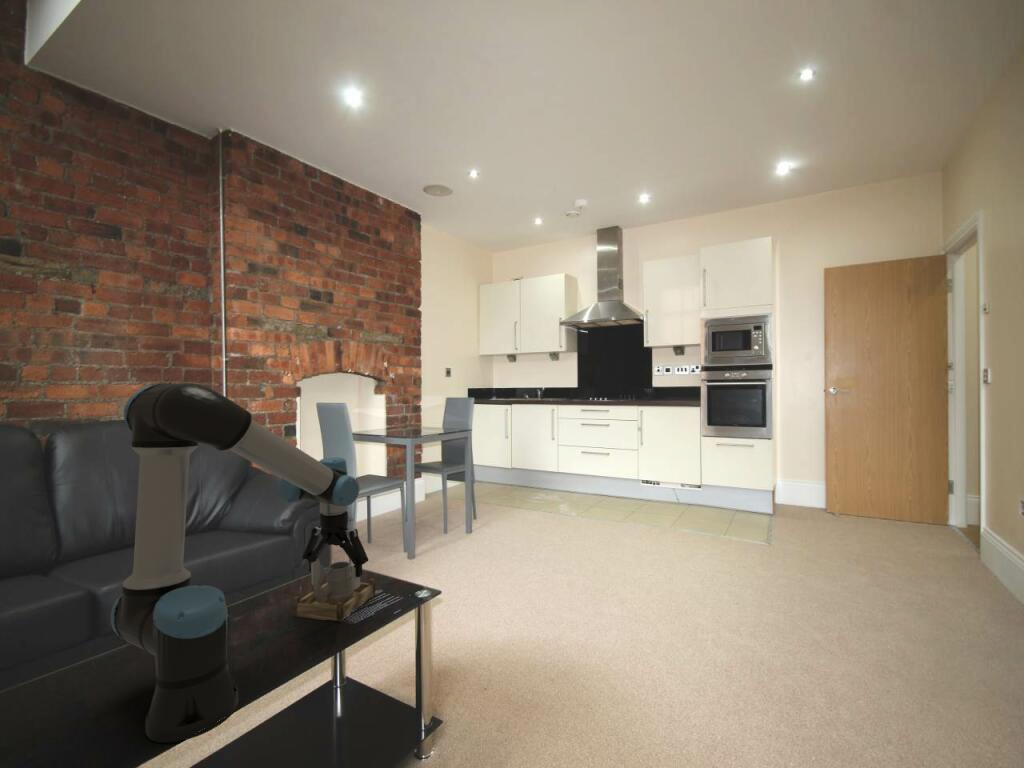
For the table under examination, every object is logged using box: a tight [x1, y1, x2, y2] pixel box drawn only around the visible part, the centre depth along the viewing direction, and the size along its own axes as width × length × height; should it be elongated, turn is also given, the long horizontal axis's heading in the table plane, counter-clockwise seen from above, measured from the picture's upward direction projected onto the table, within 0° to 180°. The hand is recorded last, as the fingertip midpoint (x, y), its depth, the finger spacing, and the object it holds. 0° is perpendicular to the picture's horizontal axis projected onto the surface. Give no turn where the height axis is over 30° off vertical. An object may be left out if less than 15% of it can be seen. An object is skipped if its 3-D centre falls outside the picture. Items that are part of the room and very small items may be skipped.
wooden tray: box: [292, 578, 376, 621], centre depth 142 cm, size 17×15×5 cm
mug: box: [313, 560, 354, 604], centre depth 142 cm, size 8×12×12 cm, turn 143°
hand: (335, 585), depth 142 cm, fingers open, 13 cm apart
